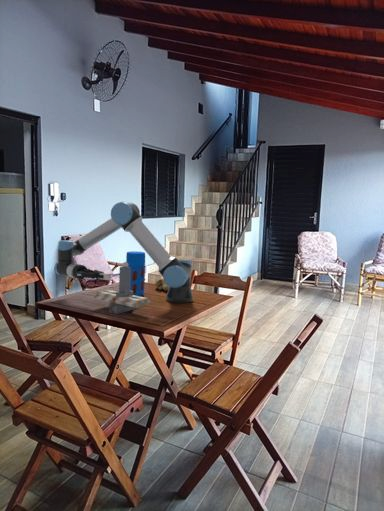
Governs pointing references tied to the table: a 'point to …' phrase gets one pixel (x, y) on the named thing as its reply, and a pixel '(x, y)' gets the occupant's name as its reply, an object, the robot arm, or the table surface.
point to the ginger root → (162, 285)
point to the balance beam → (121, 301)
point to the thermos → (137, 271)
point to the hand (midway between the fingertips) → (109, 277)
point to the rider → (124, 281)
